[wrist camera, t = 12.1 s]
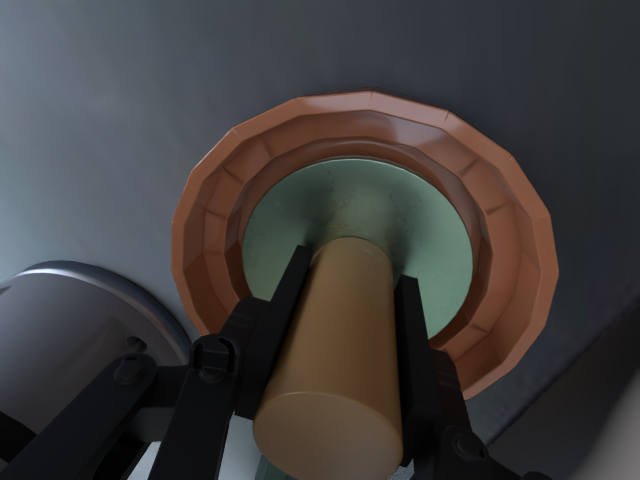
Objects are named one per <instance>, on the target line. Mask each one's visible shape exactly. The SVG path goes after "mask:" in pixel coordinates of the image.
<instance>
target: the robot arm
mask: <svg viewBox="0 0 640 480" xmlns="http://www.w3.org/2000/svg"><path fill="white" fill-rule="evenodd" d="M313 251H314V249H312V248H308V247H305V246H301V245H297V247H296V249H295V251H294V253H293V255H292V257H291V259H290V261H289V263H288V265H287V267H286V269H285V271H284V273H283V276H282V278H281V280H280V282H279V284H278V286H277V288H276V290H275V292H274V294H273V296H272V298H271V300H270V301H267V300H263V299H260V298H256V297H253V296H249V295H248V296H246V297H245V298H243V299H242V300H240V301H239V302H238V303H237V304H236V306H235V307H234V309H233V311H232V313H231V314H230V315H229V317H228V319H227V321H226V322H225V323H224V325H223V327H222V328H221V330H220V331H219V333H218V334H208V335H205V336H202V337H200V338H199V339H197V340H196V341H195V342H194V343H193V345H192V346H191V345H190V343H189V341H188V339H187V337H186V335H185V334H184V332H183V330H182V329H181V328H180V326H179V325H178V323H177V322H176V321H175V320H174V319H173V317H172V316H171V315H170V314H169V313H168V312H167V311H166V310H165V309H164V308H163V307H162V306H161V305H160V304H159V303H158V302H157V301H156V300H154V299H153V298H152V297H151V296H149V295H148V294H147V293H146V292H144V291H143V290H141V289H140V288H138V287H137V286H135V285H134V284H132V283H130V282H129V281H127V280H125V279H123V278H121V277H119V276H117V275H115V274H113V273H111V272H108V271H106V270H104V269H101V268H98V267H95V266H91V265H87V264H83V263H78V262H72V261H49V262H43V263H39V264H36V265H33V266H31V267H29V268H27V269H25V270H23V271H22V272H20V273H18V274H16V275H14V276H13V277H11V278H9V279H7V280H6V281H4V282H3V283H2V284H1V285H0V480H127V479H128V477H129V476H130V474H131V473H132V471H133V470H134V468H135V467H136V465H137V464H138V462H139V461H140V459H141V458H142V456H143V455H144V453H145V452H146V450H147V449H148V447H149V446H150V444H151V443H152V442H156V441H162V442H161V445H160V447H159V450H158V453H157V455H156V458H155V461H154V463H153V466H152V469H151V471H150V474H149V477H148V479H147V480H218V477H219V472H220V467H221V462H222V458H223V453H224V448H225V443H226V438H227V434H228V429H229V422H230V419H231V417H232V415H233V412H234V410H235V414H234V415H237V416H240V417H243V418H246V419H250V420H254V417H255V414H256V411H257V408H258V406H259V403H260V400H261V398H262V395H263V392H264V389H265V387H266V384H267V381H268V379H269V376H270V373H271V371H272V368H273V365H274V362H275V360H276V357H277V354H278V352H279V349H280V346H281V343H282V341H283V338H284V335H285V333H286V330H287V327H288V324H289V322H290V319H291V316H292V314H293V311H294V308H295V305H296V303H297V300H298V297H299V294H300V292H301V289H302V286H303V284H304V281H305V278H306V275H307V273H308V270H309V267H310V263H311V259H312V255H313ZM394 300H395V316H396V333H397V350H398V366H399V383H400V400H401V416H402V433H403V458H402V461H401V463H400V466H403V467H406V468H407V466H408V465H409V463H410V462H411V460H412V459H413V461H414V474H413V475H412V477H411V478H410V480H552V479H551V478H550V477H548V476H546V475H544V474H542V473H539V472H531V471H530V472H528V473H526V474H525V475H524V476H523V477H520V476H519V475H517V474H516V473H514V472H512V471H511V470H509V469H508V468H506V467H504V466H503V465H501V464H500V463H498V462H496V461H495V460H494V459H492V458H491V457H490V456H489V453H488V450H487V448H486V447H485V445H484V444H483V442H482V441H481V440H480V439H479V438H478V436H477V435H476V434H475V433H473V432H472V429H471V425H470V421H469V417H468V413H467V409H466V405H465V401H464V397H463V393H462V390H461V385H460V381H459V380H458V374H457V370H456V366H455V364H454V362H453V361H452V359H451V358H450V356H449V355H448V353H447V352H445V351H441V350H438V349H434V348H431V347H430V344H429V339H428V333H427V328H426V322H425V316H424V311H423V305H422V299H421V294H420V288H419V283H418V278H414V277H411V276H407V275H404V274H401V275H400V277H399V280H398V282H397V285H396V287H395V289H394Z"/></svg>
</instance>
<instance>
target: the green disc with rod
mask: <svg viewBox="0 0 640 480" xmlns="http://www.w3.org/2000/svg"><path fill="white" fill-rule="evenodd" d="M297 245H301V246H305V247H308V248H312V249H314V251H313V255H312V259H311V263H310V267H309V270H308V273H307V275H306V278H305V281H304V284H303V286H302V289H301V292H300V294H299V297H298V300H297V303H296V305H295V308H294V311H293V314H292V316H291V319H290V322H289V324H288V327H287V330H286V333H285V335H284V338H283V341H282V343H281V346H280V349H279V352H278V354H277V357H276V360H275V362H274V365H273V368H272V371H271V373H270V376H269V379H268V381H267V384H266V387H265V389H264V392H263V395H262V398H261V400H260V403H259V406H258V408H257V411H256V414H255V417H254V420H253V436H254V440H255V442H256V444H257V447H258V448H259V450H260V451H261V453H262V454H263V455H264V456H265V457H266V459H267V460H269V461H270V462H271V463H272V464H273V465H274V466H276V467H277V468H278V469H280V470H281V471H283V472H284V473H286V474H288V475H290V476H292V477H294V478H296V479H298V480H386V479H388V478H389V477H391V476H392V475H393V474H394V473H395V472H396V470H397V469H398V468H399V466H400V463H401V461H402V458H403V433H402V416H401V400H400V383H399V366H398V350H397V333H396V316H395V300H394V289H395V287H396V285H397V282H398V280H399V277H400V275H401V274H404V275H407V276H411V277H414V278H418V283H419V288H420V294H421V299H422V305H423V311H424V316H425V322H426V328H427V333H428V339H431V338H432V337H434V336H435V335H437V334H438V333H439V332H440V331H441V330H443V329H444V328H445V327H446V326H447V325H448V324H449V323H450V322H451V321H452V319H453V318H454V317H455V316H456V315H457V313H458V311H459V310H460V308H461V307H462V305H463V303H464V301H465V299H466V297H467V295H468V293H469V289H470V286H471V282H472V277H473V269H474V257H473V248H472V243H471V239H470V235H469V233H468V230H467V228H466V225H465V223H464V221H463V219H462V218H461V216H460V214H459V212H458V211H457V209H456V207H455V206H454V204H453V203H452V202H451V201H450V199H449V198H448V197H447V196H446V194H445V193H444V192H443V191H441V190H440V189H439V188H438V187H437V186H436V185H435V184H434V183H433V182H431V181H430V180H428V179H427V178H425V177H424V176H423V175H421V174H420V173H418V172H416V171H414V170H412V169H410V168H408V167H406V166H404V165H401V164H398V163H395V162H392V161H390V160H386V159H381V158H376V157H371V156H359V155H347V156H334V157H329V158H325V159H320V160H317V161H314V162H311V163H308V164H305V165H303V166H301V167H299V168H297V169H295V170H293V171H291V172H289V173H288V174H287V175H285V176H284V177H282V178H281V179H280V180H278V181H277V182H276V183H275V184H274V185H273V186H272V187H271V188H270V189H269V190H268V191H267V192H266V193H265V194H264V195H263V196H262V198H261V199H260V200H259V202H258V203H257V204H256V206H255V207H254V209H253V211H252V213H251V215H250V216H249V219H248V222H247V224H246V227H245V230H244V235H243V240H242V265H243V270H244V275H245V279H246V282H247V284H248V287H249V289H250V292H251V293H252V295H253V297H256V298H260V299H263V300H267V301H270V300H271V298H272V296H273V294H274V292H275V290H276V288H277V286H278V284H279V282H280V280H281V278H282V276H283V273H284V271H285V269H286V267H287V265H288V263H289V261H290V259H291V257H292V255H293V253H294V251H295V249H296V247H297Z"/></svg>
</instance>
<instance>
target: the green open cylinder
mask: <svg viewBox="0 0 640 480" xmlns="http://www.w3.org/2000/svg"><path fill="white" fill-rule="evenodd" d="M254 480H298V479H296V478H294V477H292V476H290V475H288V474H286V473H284V472H283V471H281V470H280V469H278V468H277V467H276V466H274V465H273V464H272V463H271V462H270V461H269V460H267V459H266V457H265V456H264V455H263V454H262V456H261V459H260V463H259V466H258V469H257V472H256V476H255V479H254Z"/></svg>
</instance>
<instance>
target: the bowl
mask: <svg viewBox="0 0 640 480" xmlns="http://www.w3.org/2000/svg"><path fill="white" fill-rule="evenodd" d="M347 155H359V156H371V157H376V158H381V159H386V160H390V161H392V162H395V163H398V164H401V165H404V166H406V167H408V168H410V169H412V170H414V171H416V172H418V173H420V174H421V175H423V176H424V177H425V178H427V179H428V180H430V181H431V182H433V183H434V184H435V185H436V186H437V187H438V188H439V189H440V190H441V191H443V192H444V193H445V194H446V196H447V197H448V198H449V199H450V201H451V202H452V203H453V204H454V206H455V207H456V209H457V211H458V212H459V214H460V216H461V218H462V219H463V221H464V223H465V225H466V228H467V230H468V233H469V235H470V239H471V243H472V248H473V257H474V269H473V277H472V282H471V286H470V289H469V293H468V295H467V297H466V299H465V301H464V303H463V305H462V307H461V308H460V310H459V311H458V313H457V315H456V316H455V317H454V318H453V319H452V321H451V322H450V323H449V324H448V325H447V326H446V327H445V328H444V329H443V330H441V331H440V332H439V333H438V334H437V335H435V336H434V337H432V338H431V339H429V344H430V347H431V348H434V349H438V350H441V351H445V352H447V353H448V355H449V356H450V358H451V359H452V361H453V362H454V364H455V366H456V370H457V374H458V380H459V381H460V385H461V390H462V393H463V397H464V401H465V400H468V399H470V398H472V397H474V396H476V395H477V394H478V393H480V392H481V391H483V390H484V389H485V388H487V387H488V386H490V385H491V384H492V383H494V382H495V381H497V380H498V379H500V378H501V377H502V376H504V375H505V374H507V373H508V372H509V371H511V370H512V369H513V368H515V366H516V365H517V364H518V362H519V361H520V360H521V358H522V357H523V356H524V354H525V353H526V352H527V350H528V349H529V347H530V346H531V345H532V343H533V342H534V341H535V339H536V338H537V337H538V335H539V334H540V333H541V331H542V330H543V329H544V326H545V325H546V321H547V317H548V313H549V310H550V306H551V302H552V298H553V295H554V291H555V287H556V284H557V280H558V276H559V268H558V261H557V255H556V248H555V242H554V236H553V229H552V223H551V217H550V213H549V210H548V209H547V207H546V206H545V204H544V203H543V201H542V200H541V198H540V197H539V195H538V193H537V192H536V190H535V189H534V187H533V186H532V184H531V183H530V181H529V179H528V178H527V176H526V175H525V173H524V172H523V170H522V169H521V167H520V166H519V164H518V162H517V161H516V159H515V158H514V156H512V155H511V153H509V152H508V151H507V150H505V149H504V148H502V147H501V146H499V145H498V144H497V143H495V142H494V141H492V140H491V139H489V138H488V137H487V136H485V135H484V134H482V133H481V132H479V131H478V130H477V129H475V128H474V127H472V126H471V125H469V124H468V123H467V122H465V121H464V120H462V119H461V118H459V117H458V116H457V115H455V114H454V113H452V112H451V111H449V110H447V109H445V108H443V107H441V106H440V105H438V104H436V103H433V102H432V101H428V100H424V99H420V98H416V97H413V96H409V95H405V94H401V93H397V92H393V91H389V90H386V89H382V88H378V87H375V88H374V87H364V88H352V89H341V90H330V91H319V92H314V93H310V94H307V95H304V96H300V97H297V98H293V99H291V100H289V101H287V102H285V103H283V104H281V105H279V106H276V107H274V108H272V109H270V110H268V111H266V112H264V113H262V114H259V115H257V116H255V117H253V118H251V119H249V120H247V121H245V122H242V123H240V124H238V125H236V126H234V127H233V128H231V129H230V130H229V132H228V133H227V134H226V135H225V136H224V137H223V138H222V139H221V140H220V141H219V142H218V143H217V144H216V145H215V146H214V147H213V148H212V149H211V150H210V152H209V153H208V154H207V155H206V156H205V157H204V158H203V159H202V160H201V161H200V162H199V163H198V164H197V165H196V166H195V167H194V168H193V169H192V172H191V173H190V175H189V178H188V181H187V183H186V186H185V188H184V191H183V193H182V196H181V198H180V201H179V203H178V206H177V208H176V211H175V213H174V216H173V218H172V228H171V271H172V274H173V277H174V280H175V283H176V286H177V289H178V292H179V295H180V298H181V301H182V304H183V307H184V310H185V313H186V315H187V316H188V318H189V319H190V320H191V322H192V323H193V325H194V326H195V328H196V329H197V331H198V332H199V333H200V335H201V336H205V335H208V334H218V333H219V331H220V330H221V328H222V327H223V325H224V323H225V322H226V321H227V319H228V317H229V315H230V314H231V313H232V311H233V309H234V307H235V306H236V304H237V303H238V302H239V301H240V300H242V299H243V298H245V297H246V296H248V295H249V296H253V295H252V293H251V292H250V289H249V287H248V284H247V282H246V279H245V275H244V270H243V265H242V240H243V235H244V230H245V227H246V224H247V222H248V219H249V216H250V215H251V213H252V211H253V209H254V207H255V206H256V204H257V203H258V202H259V200H260V199H261V198H262V196H263V195H264V194H265V193H266V192H267V191H268V190H269V189H270V188H271V187H272V186H273V185H274V184H275V183H276V182H277V181H278V180H280V179H281V178H282V177H284V176H285V175H287V174H288V173H289V172H291V171H293V170H295V169H297V168H299V167H301V166H303V165H305V164H308V163H311V162H314V161H317V160H320V159H325V158H329V157H334V156H347Z"/></svg>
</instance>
